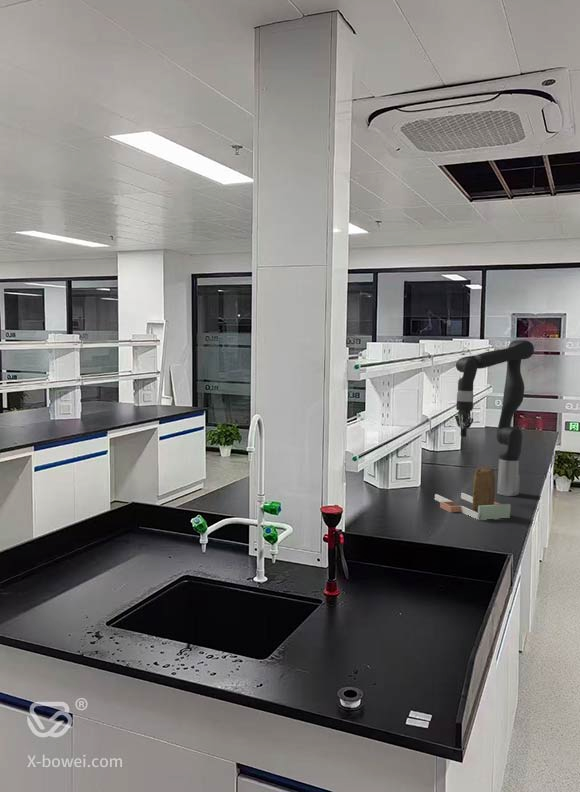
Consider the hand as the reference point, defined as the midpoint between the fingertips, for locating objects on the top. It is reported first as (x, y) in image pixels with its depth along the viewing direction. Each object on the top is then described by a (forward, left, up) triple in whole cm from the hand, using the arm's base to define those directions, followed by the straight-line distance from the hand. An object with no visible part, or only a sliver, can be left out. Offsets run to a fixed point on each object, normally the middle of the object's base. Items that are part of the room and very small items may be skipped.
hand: (463, 436), depth 318 cm
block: (+7, +30, -29) cm, 42 cm away
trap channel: (+8, +21, -29) cm, 37 cm away
